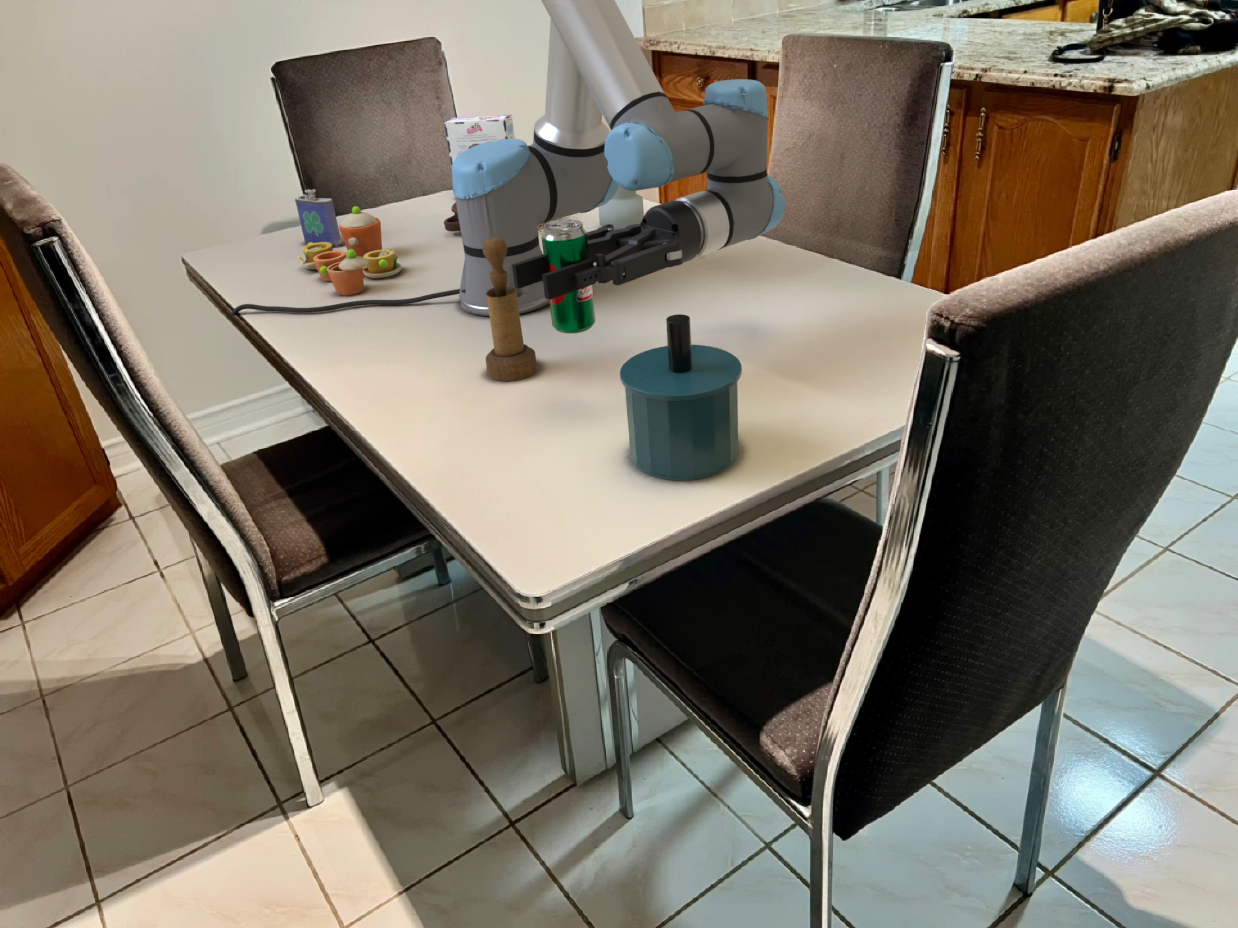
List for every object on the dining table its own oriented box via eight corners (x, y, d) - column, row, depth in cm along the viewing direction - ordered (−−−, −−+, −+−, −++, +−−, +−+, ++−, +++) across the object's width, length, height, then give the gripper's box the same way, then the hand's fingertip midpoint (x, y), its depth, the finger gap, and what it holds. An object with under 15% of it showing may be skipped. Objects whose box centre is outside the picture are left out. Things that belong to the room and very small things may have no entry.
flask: (345, 243, 184) (332, 188, 178) (334, 248, 181) (321, 192, 176) (311, 240, 188) (298, 186, 182) (300, 244, 186) (286, 190, 180)
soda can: (590, 335, 107) (579, 231, 101) (547, 335, 108) (534, 232, 102) (600, 318, 111) (590, 217, 105) (559, 318, 112) (547, 219, 106)
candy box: (522, 190, 210) (512, 113, 202) (515, 197, 205) (505, 118, 197) (464, 192, 213) (452, 116, 204) (455, 199, 208) (442, 121, 199)
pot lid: (596, 381, 99) (590, 322, 95) (682, 344, 106) (680, 287, 102) (678, 418, 90) (675, 354, 87) (767, 375, 97) (767, 314, 94)
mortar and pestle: (498, 385, 121) (476, 249, 112) (480, 368, 126) (459, 237, 117) (545, 372, 123) (527, 238, 114) (526, 356, 129) (508, 226, 120)
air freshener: (644, 233, 174) (641, 178, 169) (600, 236, 175) (595, 182, 170) (644, 217, 184) (640, 165, 179) (601, 220, 184) (597, 168, 179)
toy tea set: (296, 264, 174) (282, 213, 169) (377, 246, 180) (366, 196, 175) (331, 303, 154) (317, 245, 149) (421, 281, 160) (411, 225, 155)
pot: (609, 455, 103) (602, 376, 98) (685, 418, 109) (682, 342, 105) (683, 493, 95) (678, 409, 91) (760, 450, 101) (760, 370, 97)
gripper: (737, 273, 111) (584, 333, 99) (636, 246, 124) (489, 296, 111) (736, 210, 107) (577, 264, 95) (632, 189, 120) (479, 234, 108)
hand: (530, 281), depth 103 cm, fingers closed on soda can, 5 cm apart
